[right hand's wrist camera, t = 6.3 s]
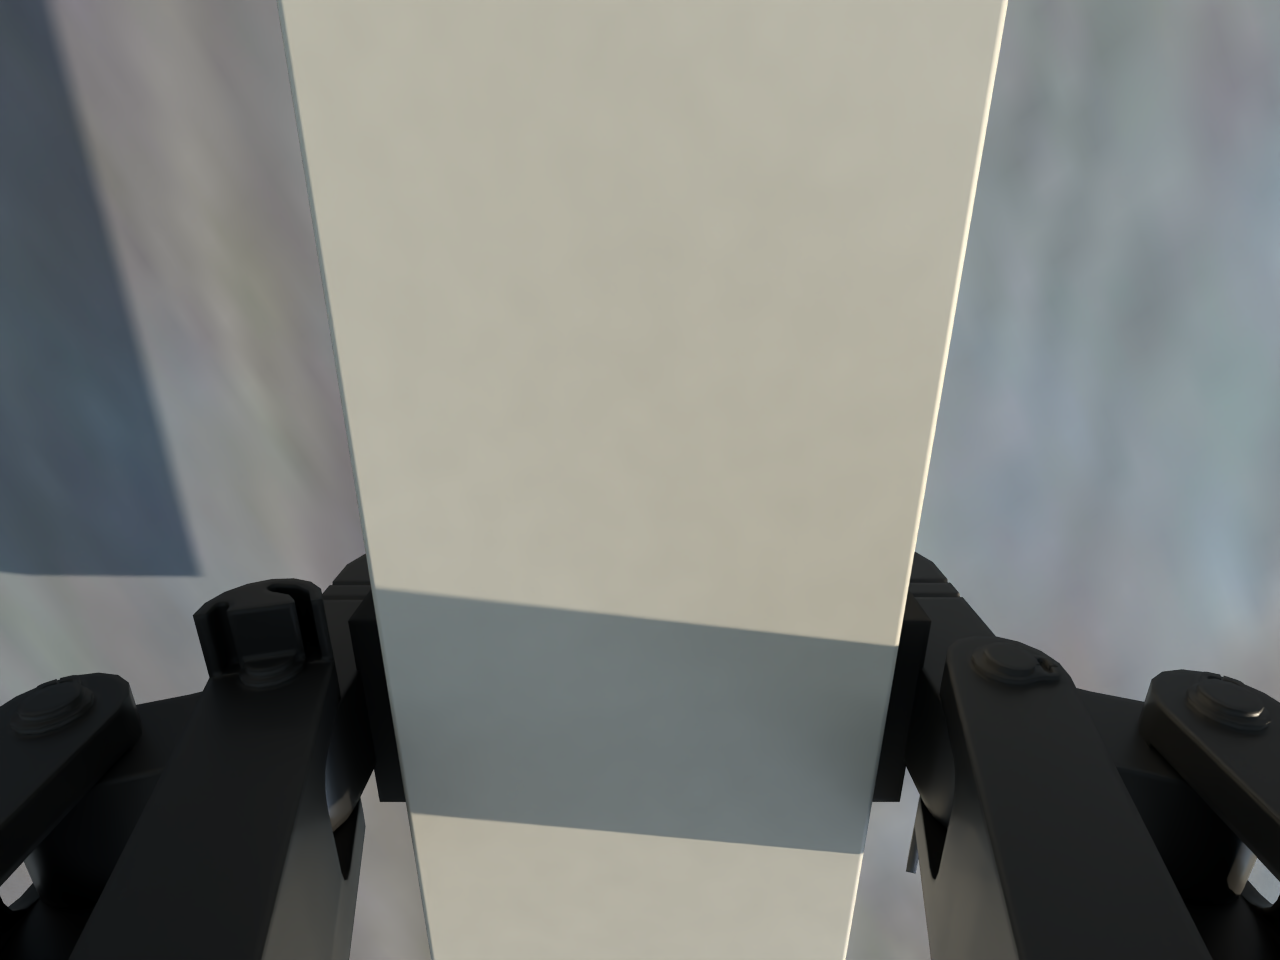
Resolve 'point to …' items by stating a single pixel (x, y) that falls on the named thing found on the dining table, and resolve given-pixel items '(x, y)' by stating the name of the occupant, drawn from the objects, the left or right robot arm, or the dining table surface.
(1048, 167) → the dining table surface
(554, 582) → the beam
